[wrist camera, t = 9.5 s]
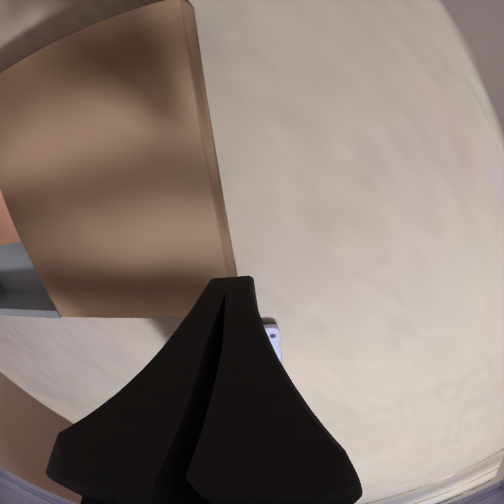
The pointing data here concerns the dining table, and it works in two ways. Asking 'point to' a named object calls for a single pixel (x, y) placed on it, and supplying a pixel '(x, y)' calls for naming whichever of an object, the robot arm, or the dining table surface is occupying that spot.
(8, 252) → the box
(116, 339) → the dining table surface
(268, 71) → the dining table surface
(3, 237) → the terracotta tile
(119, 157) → the tan slab
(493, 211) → the dining table surface
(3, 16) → the dining table surface
